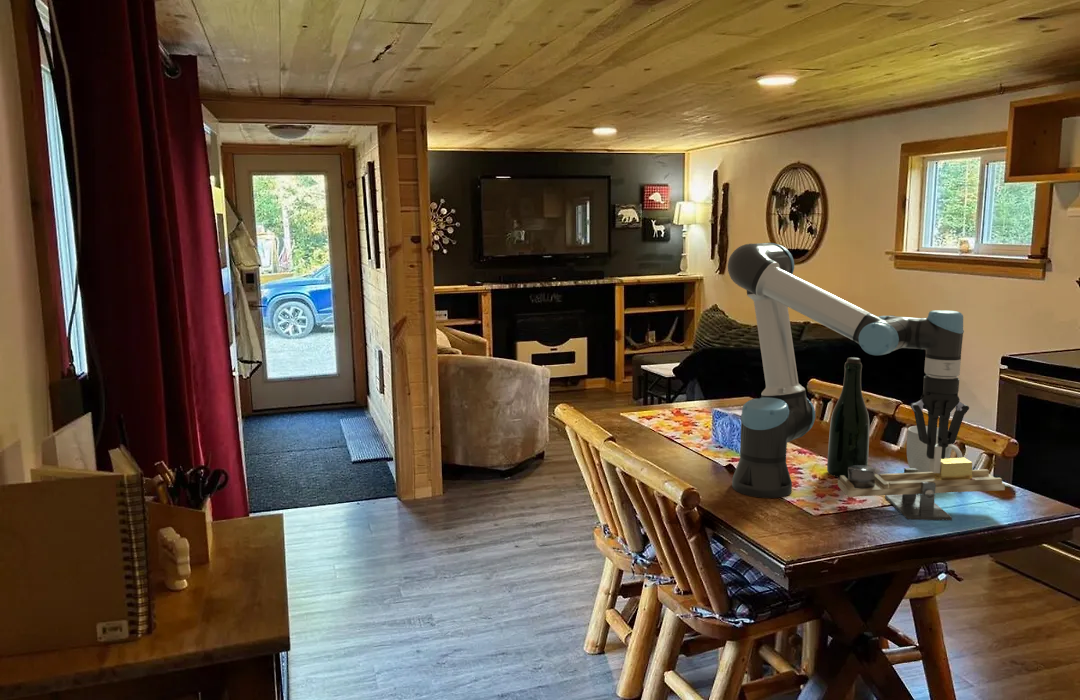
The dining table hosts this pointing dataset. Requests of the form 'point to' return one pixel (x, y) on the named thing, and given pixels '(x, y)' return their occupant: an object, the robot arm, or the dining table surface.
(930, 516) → the stand
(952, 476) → the rider
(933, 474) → the beam
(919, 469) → the mug
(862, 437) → the green wine bottle
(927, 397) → the robot arm
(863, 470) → the counterweight
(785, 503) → the dining table surface
